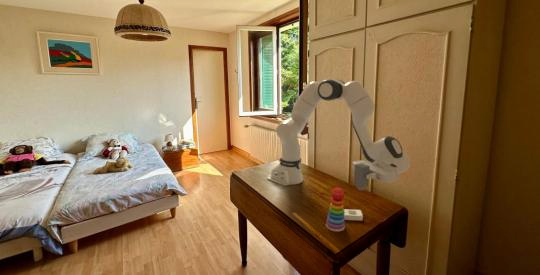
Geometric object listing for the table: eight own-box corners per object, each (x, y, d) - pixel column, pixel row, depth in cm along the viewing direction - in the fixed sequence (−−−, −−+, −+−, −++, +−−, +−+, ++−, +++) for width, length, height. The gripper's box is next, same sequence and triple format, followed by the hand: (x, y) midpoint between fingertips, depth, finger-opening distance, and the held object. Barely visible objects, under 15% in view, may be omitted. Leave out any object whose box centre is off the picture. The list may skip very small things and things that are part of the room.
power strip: (336, 221, 113) (337, 214, 112) (335, 215, 117) (335, 208, 116) (362, 223, 111) (362, 215, 110) (359, 216, 116) (360, 209, 115)
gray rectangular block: (360, 186, 115) (361, 163, 112) (368, 190, 111) (369, 166, 108) (353, 188, 113) (354, 164, 111) (361, 192, 109) (362, 167, 107)
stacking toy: (336, 236, 103) (338, 194, 98) (321, 227, 109) (323, 187, 104) (348, 229, 107) (351, 188, 102) (333, 220, 113) (335, 182, 109)
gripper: (364, 155, 124) (343, 160, 118) (402, 168, 107) (380, 175, 101) (364, 167, 126) (343, 173, 120) (401, 182, 108) (379, 189, 102)
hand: (360, 174), depth 110 cm, fingers closed on gray rectangular block, 4 cm apart
